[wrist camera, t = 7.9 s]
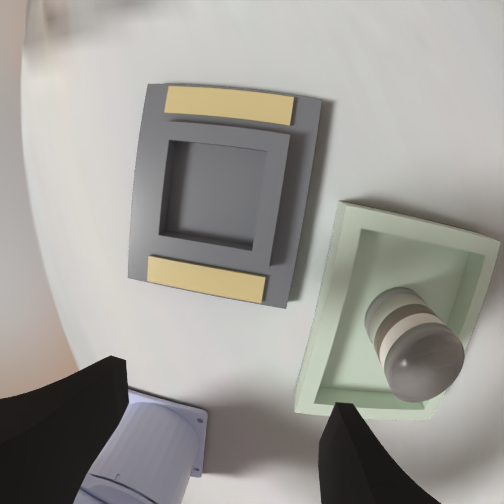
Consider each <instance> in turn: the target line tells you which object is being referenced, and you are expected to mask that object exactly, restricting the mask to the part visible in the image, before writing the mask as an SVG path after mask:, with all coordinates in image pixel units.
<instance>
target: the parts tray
mask: <svg viewBox="0 0 504 504" xmlns="http://www.w3.org/2000/svg"><path fill="white" fill-rule="evenodd" d="M500 243H501V242H500V241H497V240H495V239H492V238H490V237H487V236H485V235H483V234H480V233H476V232H472V231H469V230H465V229H461V228H457V227H453V226H449V225H445V224H441V223H437V222H433V221H429V220H425V219H421V218H417V217H412V216H408V215H404V214H399V213H395V212H390V211H386V210H381V209H376V208H372V207H367V206H362V205H357V204H352V203H347V202H342V201H339V202H338V207H337V213H336V218H335V223H334V228H333V234H332V239H331V244H330V248H329V253H328V258H327V263H326V267H325V272H324V277H323V281H322V285H321V290H320V294H319V298H318V303H317V307H316V311H315V315H314V319H313V323H312V327H311V331H310V335H309V339H308V343H307V347H306V351H305V355H304V358H303V362H302V366H301V369H300V373H299V377H298V380H297V384H296V387H295V413H302V414H311V415H321V416H330V415H331V412H332V410H333V407H334V405H335V402H342V403H353V404H354V406H355V407H356V409H357V410H358V412H359V413H360V415H361V416H362V418H363V419H379V420H430V419H431V417H432V416H433V414H434V412H435V410H436V409H437V407H438V405H439V403H440V401H441V399H442V397H443V395H444V394H445V392H446V390H447V389H446V390H445V391H444V392H442V393H441V394H439V395H438V396H436V397H434V398H432V399H429V400H426V401H423V402H417V403H411V402H405V401H402V400H400V399H398V398H397V397H396V396H395V395H394V394H393V393H392V391H391V389H390V387H389V384H388V382H387V379H386V377H385V373H384V370H383V367H382V365H381V363H380V361H379V359H378V356H377V354H376V351H375V348H374V346H373V344H372V343H371V341H370V339H369V337H368V334H367V332H366V329H365V322H364V320H365V314H366V311H367V309H368V307H369V305H370V304H371V302H372V301H373V300H374V298H376V297H377V296H378V295H379V294H380V293H382V292H384V291H385V290H388V289H390V288H394V287H406V288H409V289H411V290H413V291H415V292H416V293H417V294H418V295H419V296H420V297H421V298H422V299H423V300H424V301H425V303H426V304H427V306H428V307H429V308H430V309H431V310H432V311H433V312H434V313H435V314H436V315H437V316H438V317H439V318H440V319H441V320H442V322H443V323H444V324H445V325H446V326H447V327H448V328H449V329H450V330H451V331H452V332H453V333H454V334H455V335H456V336H457V337H458V339H459V340H460V341H461V343H462V345H463V348H464V351H465V349H466V347H467V344H468V342H469V339H470V337H471V334H472V332H473V329H474V327H475V324H476V322H477V319H478V316H479V313H480V311H481V308H482V305H483V302H484V299H485V296H486V293H487V290H488V287H489V283H490V280H491V277H492V273H493V270H494V266H495V263H496V259H497V255H498V251H499V247H500Z"/></svg>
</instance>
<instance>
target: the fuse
mask: <svg viewBox="0 0 504 504" xmlns="http://www.w3.org/2000/svg"><path fill="white" fill-rule="evenodd" d="M364 322H365V329H366V332H367V334H368V337H369V339H370V341H371V343H372V344H373V346H374V348H375V351H376V354H377V356H378V359H379V361H380V363H381V365H382V367H383V370H384V373H385V377H386V379H387V382H388V384H389V387H390V389H391V391H392V393H393V394H394V395H395V396H396V397H397V398H398V399H400V400H402V401H405V402H411V403H417V402H423V401H426V400H429V399H432V398H434V397H436V396H438V395H439V394H441V393H442V392H444V391H445V390H446V389H447V388H448V387H449V386H450V385H451V384H452V383H453V382H454V381H455V379H456V378H457V376H458V375H459V373H460V371H461V369H462V366H463V363H464V348H463V345H462V343H461V341H460V340H459V339H458V337H457V336H456V335H455V334H454V333H453V332H452V331H451V330H450V329H449V328H448V327H447V326H446V325H445V324H444V323H443V322H442V320H441V319H440V318H439V317H438V316H437V315H436V314H435V313H434V312H433V311H432V310H431V309H430V308H429V307H428V306H427V304H426V303H425V301H424V300H423V299H422V298H421V297H420V296H419V295H418V294H417V293H416V292H415V291H413V290H411V289H409V288H406V287H394V288H390V289H388V290H385V291H384V292H382V293H380V294H379V295H378V296H377V297H376V298H374V300H373V301H372V302H371V304H370V305H369V307H368V309H367V311H366V314H365V320H364Z"/></svg>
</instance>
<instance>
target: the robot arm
mask: <svg viewBox="0 0 504 504" xmlns="http://www.w3.org/2000/svg"><path fill="white" fill-rule="evenodd" d="M207 418H208V414H207V412H206V411H205V410H202V409H198V408H194V407H190V406H186V405H182V404H178V403H174V402H170V401H167V400H163V399H159V398H156V397H152V396H149V395H146V394H142V393H139V392H136V391H132V390H129V389H128V383H127V369H126V360H124V359H121V358H117V357H114V356H109V357H106V358H104V359H102V360H100V361H98V362H96V363H94V364H92V365H90V366H88V367H86V368H84V369H82V370H80V371H78V372H76V373H74V374H72V375H70V376H68V377H66V378H64V379H61V380H59V381H56V382H54V383H52V384H49V385H47V386H44V387H42V388H39V389H36V390H33V391H31V392H28V393H24V394H20V395H17V396H13V397H8V398H3V399H0V504H181V502H182V499H183V496H184V493H185V490H186V487H187V484H188V481H189V478H190V476H192V477H196V478H200V477H201V476H202V471H203V460H204V449H205V438H206V428H207ZM200 419H202V420H200ZM318 468H319V480H320V492H321V503H322V504H441V503H440V502H438V501H437V500H436V499H434V498H433V497H432V496H430V495H429V494H428V493H427V492H425V491H424V490H423V489H422V488H421V487H420V486H418V485H417V484H416V483H415V482H414V481H413V480H412V479H411V478H410V477H409V476H408V475H407V474H406V473H405V472H404V471H403V470H402V469H401V468H400V467H399V465H398V464H397V463H396V462H395V461H394V460H393V458H392V457H391V456H390V455H389V454H388V452H387V451H386V450H385V449H384V447H383V446H382V445H381V443H380V442H379V441H378V439H377V438H376V437H375V435H374V434H373V432H372V431H371V429H370V428H369V426H368V425H367V424H366V422H365V421H364V419H363V418H362V416H361V415H360V413H359V412H358V410H357V409H356V407H355V406H354V404H353V403H342V402H335V405H334V407H333V410H332V412H331V415H330V417H329V420H328V422H327V425H326V427H325V430H324V432H323V434H322V437H321V439H320V441H319V462H318Z"/></svg>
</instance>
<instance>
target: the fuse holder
mask: <svg viewBox="0 0 504 504" xmlns="http://www.w3.org/2000/svg"><path fill="white" fill-rule="evenodd" d="M321 103H322V100H321V99H315V98H309V97H304V96H297V95H291V94H284V93H277V92H270V91H262V90H253V89H244V88H233V87H221V86H206V85H185V84H148V86H147V92H146V97H145V103H144V109H143V115H142V121H141V128H140V134H139V141H138V149H137V157H136V165H135V174H134V184H133V194H132V206H131V220H130V236H129V257H128V278H131V279H135V280H140V281H144V282H149V283H153V284H158V285H163V286H167V287H172V288H177V289H182V290H187V291H192V292H197V293H202V294H207V295H212V296H217V297H223V298H228V299H233V300H239V301H244V302H250V303H255V304H261V305H267V306H273V307H278V308H284V309H286V307H287V302H288V297H289V292H290V287H291V282H292V277H293V272H294V267H295V262H296V256H297V251H298V246H299V240H300V235H301V229H302V224H303V218H304V212H305V206H306V201H307V195H308V189H309V183H310V177H311V170H312V164H313V158H314V151H315V145H316V138H317V131H318V124H319V117H320V110H321Z"/></svg>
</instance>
